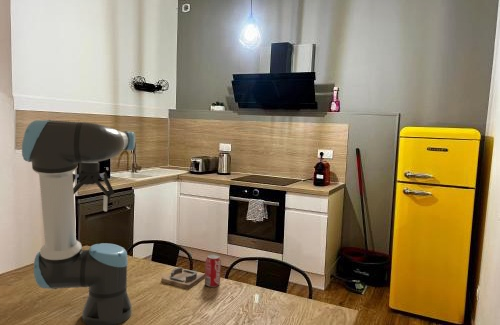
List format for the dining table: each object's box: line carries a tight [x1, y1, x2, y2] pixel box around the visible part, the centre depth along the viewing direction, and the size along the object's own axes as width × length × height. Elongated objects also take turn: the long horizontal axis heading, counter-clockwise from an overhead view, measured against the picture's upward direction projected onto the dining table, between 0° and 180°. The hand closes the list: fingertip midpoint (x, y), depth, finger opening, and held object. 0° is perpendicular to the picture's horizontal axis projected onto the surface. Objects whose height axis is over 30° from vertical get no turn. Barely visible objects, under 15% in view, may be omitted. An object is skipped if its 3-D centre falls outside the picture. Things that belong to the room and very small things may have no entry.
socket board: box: [161, 266, 205, 290], centre depth 154 cm, size 13×13×3 cm
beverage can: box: [204, 253, 222, 288], centre depth 150 cm, size 6×6×12 cm
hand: (88, 212), depth 154 cm, fingers open, 13 cm apart
